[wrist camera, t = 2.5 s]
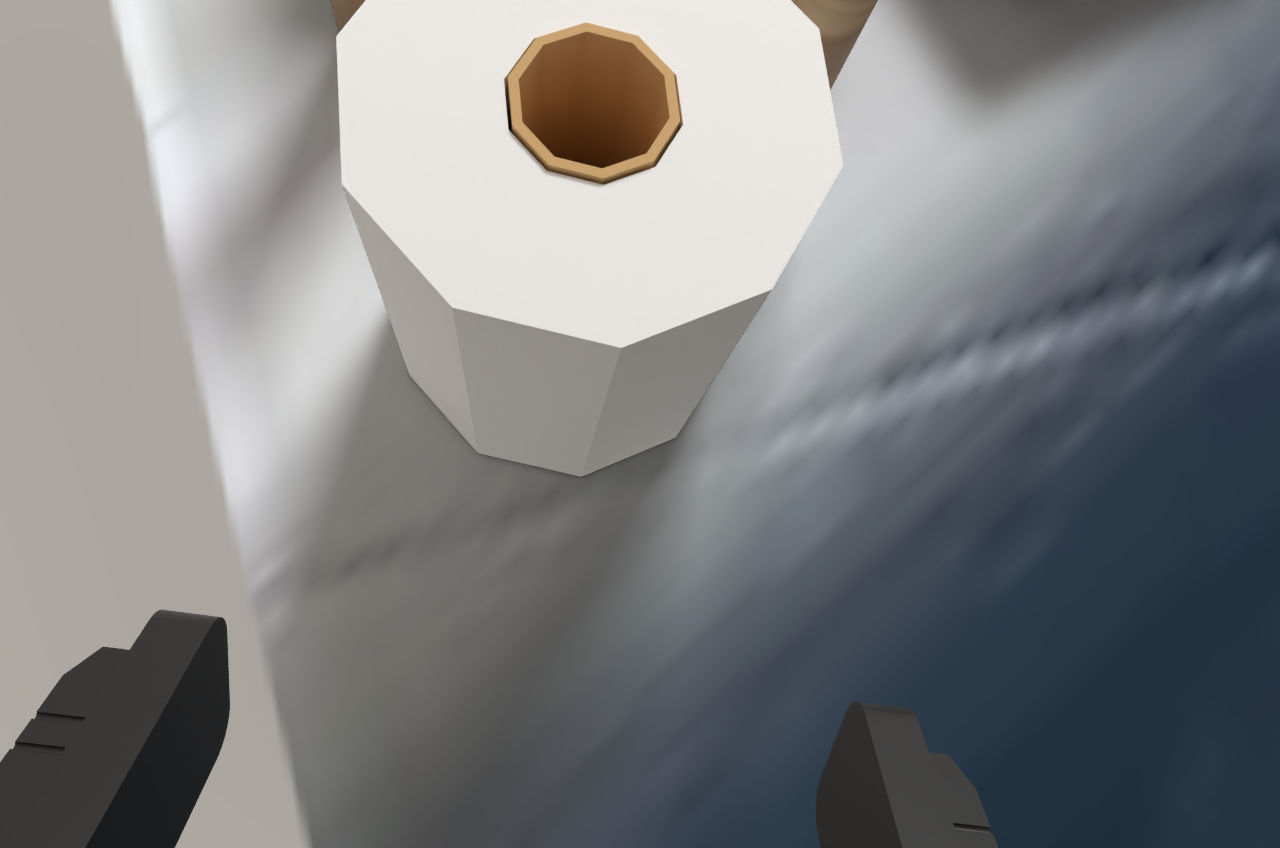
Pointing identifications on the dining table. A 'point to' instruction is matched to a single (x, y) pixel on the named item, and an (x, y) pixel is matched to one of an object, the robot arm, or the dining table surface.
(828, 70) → the peg cradle
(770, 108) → the toilet paper
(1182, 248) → the dining table surface
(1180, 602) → the dining table surface
